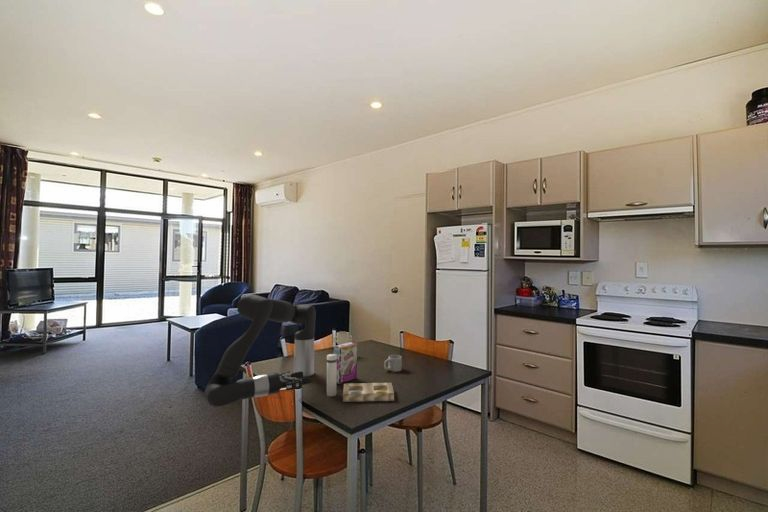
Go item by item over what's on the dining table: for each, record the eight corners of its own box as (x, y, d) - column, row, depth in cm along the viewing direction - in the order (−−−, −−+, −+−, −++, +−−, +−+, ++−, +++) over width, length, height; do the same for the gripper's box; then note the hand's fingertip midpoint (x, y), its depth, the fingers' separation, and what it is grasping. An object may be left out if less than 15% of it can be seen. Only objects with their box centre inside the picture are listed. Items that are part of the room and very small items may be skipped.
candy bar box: (340, 384, 161) (340, 347, 161) (332, 382, 164) (332, 345, 164) (357, 378, 169) (357, 343, 169) (349, 376, 172) (350, 341, 173)
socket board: (342, 401, 142) (342, 393, 142) (344, 390, 154) (344, 382, 154) (394, 400, 143) (394, 392, 143) (391, 389, 155) (391, 381, 155)
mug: (396, 366, 188) (396, 354, 188) (404, 370, 182) (404, 356, 182) (380, 370, 182) (380, 357, 182) (388, 373, 176) (388, 360, 177)
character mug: (350, 353, 214) (350, 331, 214) (353, 356, 208) (353, 333, 208) (332, 354, 211) (332, 332, 211) (334, 357, 204) (334, 334, 204)
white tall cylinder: (326, 396, 147) (326, 356, 147) (326, 392, 151) (327, 354, 151) (336, 396, 147) (336, 356, 147) (336, 392, 151) (337, 354, 152)
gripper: (271, 380, 128) (314, 372, 137) (259, 369, 140) (300, 363, 149) (270, 401, 128) (313, 392, 137) (259, 389, 140) (300, 381, 149)
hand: (306, 377), depth 143 cm, fingers open, 8 cm apart
